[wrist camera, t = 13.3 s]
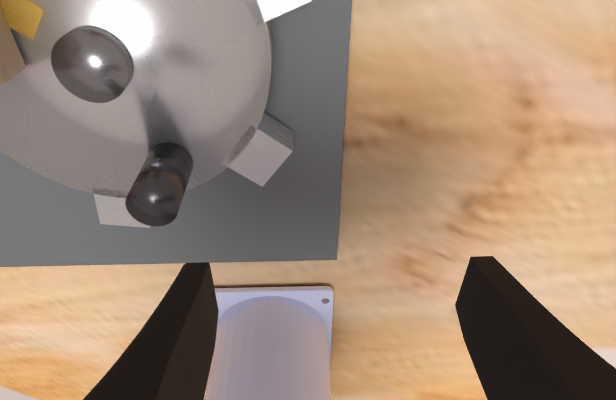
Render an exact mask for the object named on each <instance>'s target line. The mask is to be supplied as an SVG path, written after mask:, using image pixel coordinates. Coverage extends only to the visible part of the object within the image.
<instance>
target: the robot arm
mask: <svg viewBox="0 0 616 400" xmlns="http://www.w3.org/2000/svg"><path fill="white" fill-rule="evenodd" d="M324 298H327V299H324ZM333 298H334V293H333V289H332V288H331V287H329V286H297V287H253V288H214V284H213V279H212V274H211V269H210V264H209V262H200V263H186V264H185V265H184V266H183V267H182V269H181V271H180V272H179V274H178V276H177V277H176V279H175V281H174V282H173V284H172V285H171V287H170V289H169V290H168V292H167V293H166V295H165V296H164V298H163V299H162V301H161V302H160V304H159V305H158V307H157V308H156V310H155V311H154V312H153V314H152V315H151V317H150V318H149V320H148V321H147V322H146V324H145V325H144V327H143V328H142V329H141V331H140V332H139V333H138V335H137V336H136V337H135V339H134V340H133V341H132V342H131V344H130V345H129V346H128V348H127V349H126V350H125V351H124V353H123V354H122V355H121V357H120V358H119V359H118V360H117V361H116V363H115V364H114V365H113V366H112V367H111V369H110V370H109V371H108V372H107V373H106V375H105V376H104V377H103V378H102V379H101V380H100V381H99V383H98V384H97V385H96V386H95V387H94V388H93V389H92V390H91V391H90V392H89V394H88V395H87V396H86V397H85V398H84V399H83V400H203V399H204V395H205V390H206V385H207V390H206V396H205V400H331V392H330V379H329V369H330V351H331V333H332V316H333ZM455 306H456V310H457V314H458V318H459V322H460V326H461V330H462V334H463V337H464V341H465V343H466V346H467V349H468V351H469V354H470V356H471V359H472V361H473V364H474V367H475V369H476V372H477V374H478V377H479V379H480V382H481V384H482V387H483V389H484V392H485V394H486V397H487V399H488V400H616V369H615V368H614V367H613V366H612V365H610V364H609V363H607V362H606V361H605V360H604V359H603V358H601V357H600V356H599V355H598V354H597V353H595V352H594V351H593V350H592V349H591V348H589V347H588V346H587V345H586V344H585V343H584V342H582V341H581V340H580V339H579V338H578V337H577V336H575V335H574V334H573V333H572V332H571V331H570V330H569V329H568V328H566V327H565V326H564V325H563V324H562V323H561V322H560V321H559V320H558V319H557V318H555V317H554V316H553V315H552V314H551V313H550V312H549V311H548V310H547V309H546V308H545V307H544V306H543V305H542V304H541V303H540V302H539V301H537V300H536V299H535V298H534V297H533V296H532V295H531V294H530V293H529V292H528V291H527V290H526V289H525V288H524V287H523V286H522V285H521V284H520V283H519V282H518V281H517V280H516V279H515V278H514V277H513V276H512V275H511V274H510V273H509V272H508V271H507V270H506V269H505V268H504V267H503V266H502V265H501V264H500V263H499V262H498V261H497V260H496V259H495V258H494V257H493V256H484V257H471V258H470V261H469V264H468V267H467V270H466V273H465V276H464V280H463V283H462V286H461V289H460V292H459V295H458V298H457V301H456V304H455ZM208 376H209V378H208ZM207 381H208V384H207Z"/></svg>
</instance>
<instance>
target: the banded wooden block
mask: <svg viewBox="0 0 616 400" xmlns="http://www.w3.org/2000/svg"><path fill="white" fill-rule="evenodd" d="M25 68H26V66H25V63H24V61H23V58H22V56H21V54H20V51H19V49H18V46H17V44H16V41H15V39H14V37H13V34H12V32H11V29H10V27H9V25H8V22H7V20H6V17H5V15H4V13H3V10H2V8H1V5H0V87H1V86H2V85H4V84H5V83H6V82H8V81H9V80H10V79H12V78H13V77H14V76H16V75H17V74H18V73H20V72H21V71H22V70H24V69H25Z"/></svg>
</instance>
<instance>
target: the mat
mask: <svg viewBox="0 0 616 400" xmlns="http://www.w3.org/2000/svg"><path fill="white" fill-rule="evenodd" d="M351 5H352V0H312V1H311V2H308V3H306V4H304V5H302V6H300V7H297V8H295V9H293V10H291V11H289V12H286V13H284V14H282V15H280V16H278V17H275V18H273V19H271V20H269V22H270V29H271V38H272V69H271V78H270V86H269V92H268V99H267V103H266V107H265V110H264V113H266V114H267V115H269V116H270V117H272V118H273V119H275V120H276V121H278V122H279V123H281V124H282V125H284V126H285V127H287V128H288V129H290V130H292V131H293V152H292V153H291V154H290V155H289V156H288V157H287V159H286V160H285V161H284V162H283V163H282V164H281V166H280V167H279V168H278V169H277V170H276V172H275V173H274V174H273V175H272V176H271V177H270V179H269V180H268V181H267V182H266V183H265V185H264V186H263V187H262V186H260V185H258V184H257V183H255V182H253V181H251V180H250V179H248V178H246V177H244V176H243V175H241V174H239V173H237V172H236V171H234V170H232V169H231V168H229V167H227V168H226V169H225V170H224V171H222V172H221V173H220V174H218V175H217V176H215V177H214V178H212V179H210V180H209V181H207V182H205V183H203V184H201V185H199V186H197V187H194V188H192V189H189V190H186V191H185V193H184V196H183V199H182V202H181V205H180V208H179V211H178V214H177V217H176V218H175V220H174V221H173V222H171V223H170V224H167V225H165V226H158V227H157V226H151V227H150V228H145V227H132V226H119V225H106V224H100V221H99V216H98V212H97V207H96V202H95V197H94V194H93V193H89V192H84V191H81V190H77V189H74V188H71V187H68V186H65V185H62V184H60V183H57V182H55V181H53V180H50V179H48V178H46V177H43V176H41V175H40V174H38V173H36V172H34V171H32V170H30V169H28V168H26V167H24V166H23V165H21V164H20V163H18V162H16V161H15V160H13V159H12V158H10V157H9V156H7V155H6V154H4V153H3V152H1V151H0V267H21V266H68V265H115V264H162V263H200V262H209V263H210V262H257V261H304V260H337V245H338V228H339V210H340V193H341V176H342V159H343V142H344V125H345V107H346V90H347V73H348V56H349V39H350V22H351Z"/></svg>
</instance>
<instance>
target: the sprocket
mask: <svg viewBox="0 0 616 400" xmlns="http://www.w3.org/2000/svg"><path fill="white" fill-rule="evenodd" d="M311 1H312V0H0V5H1V8H2V10H3V13H4V15H5V17H6V20H7V22H8V25H9V27H10V29H11V32H12V34H13V37H14V39H15V41H16V44H17V46H18V49H19V51H20V54H21V56H22V58H23V61H24V63H25V66H26V68H25V69H24V70H22V71H21V72H20V73H18V74H17V75H16V76H14V77H13V78H12V79H10V80H9V81H8V82H6V83H5V84H4V85H2V86H1V87H0V151H1V152H3V153H4V154H6V155H7V156H9V157H10V158H12V159H13V160H15V161H16V162H18V163H20V164H21V165H23V166H24V167H26V168H28V169H30V170H32V171H34V172H36V173H38V174H40V175H41V176H43V177H46V178H48V179H50V180H53V181H55V182H57V183H60V184H62V185H65V186H68V187H71V188H74V189H77V190H81V191H84V192H89V193H93V194H94V197H95V202H96V207H97V212H98V216H99V221H100V224H106V225H119V226H132V227H145V228H150V227H151V226H157V227H158V226H165V225H167V224H170V223H171V222H173V221H174V220H175V218H176V217H177V214H178V211H179V208H180V205H181V202H182V199H183V196H184V193H185V191H186V190H189V189H192V188H194V187H197V186H199V185H201V184H203V183H205V182H207V181H209V180H210V179H212V178H214V177H215V176H217V175H218V174H220V173H221V172H222V171H224V170H225V169H226V168H227V167H229V168H231V169H232V170H234V171H236V172H237V173H239V174H241V175H243V176H244V177H246V178H248V179H250V180H251V181H253V182H255V183H257V184H258V185H260V186H262V187H263V186H264V185H265V183H266V182H267V181H268V180H269V179H270V177H271V176H272V175H273V174H274V173H275V172H276V170H277V169H278V168H279V167H280V166H281V164H282V163H283V162H284V161H285V160H286V159H287V157H288V156H289V155H290V154H291V153H292V152H293V131H292V130H290V129H288V128H287V127H285V126H284V125H282V124H281V123H279V122H278V121H276V120H275V119H273V118H272V117H270V116H269V115H267V114H266V113H264V110H265V107H266V103H267V99H268V92H269V86H270V78H271V69H272V38H271V29H270V22H269V20H271V19H273V18H275V17H278V16H280V15H282V14H284V13H286V12H289V11H291V10H293V9H295V8H297V7H300V6H302V5H304V4H306V3H308V2H311Z"/></svg>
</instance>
